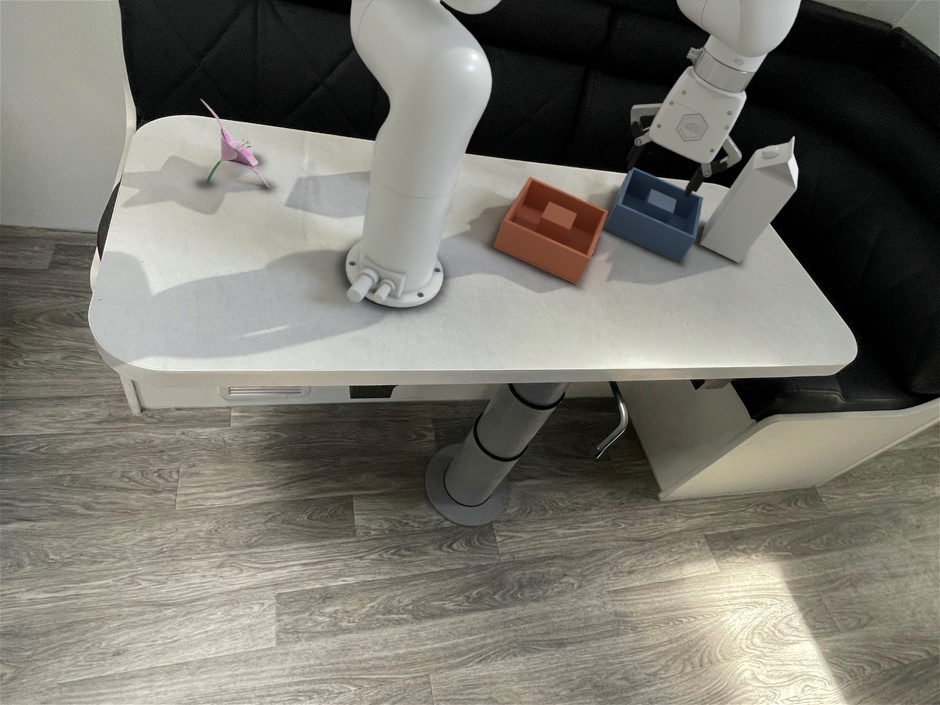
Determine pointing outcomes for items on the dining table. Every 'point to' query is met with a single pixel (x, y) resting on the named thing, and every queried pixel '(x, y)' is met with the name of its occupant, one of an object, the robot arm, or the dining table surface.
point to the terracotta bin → (541, 250)
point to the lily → (233, 151)
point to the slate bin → (648, 230)
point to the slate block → (658, 206)
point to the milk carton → (752, 201)
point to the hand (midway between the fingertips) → (658, 179)
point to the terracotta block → (555, 222)
